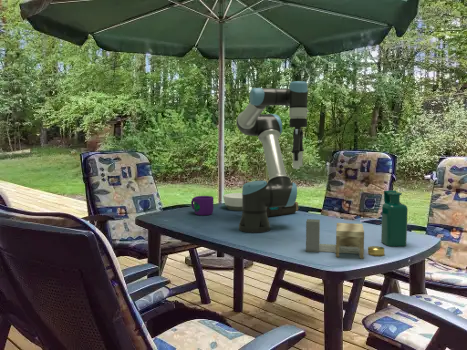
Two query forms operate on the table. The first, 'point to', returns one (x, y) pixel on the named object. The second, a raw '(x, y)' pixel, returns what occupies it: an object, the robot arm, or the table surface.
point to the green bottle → (394, 220)
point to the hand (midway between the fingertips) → (297, 167)
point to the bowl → (233, 201)
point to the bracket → (315, 245)
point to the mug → (203, 205)
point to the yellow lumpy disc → (376, 251)
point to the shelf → (350, 236)
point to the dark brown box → (281, 210)
